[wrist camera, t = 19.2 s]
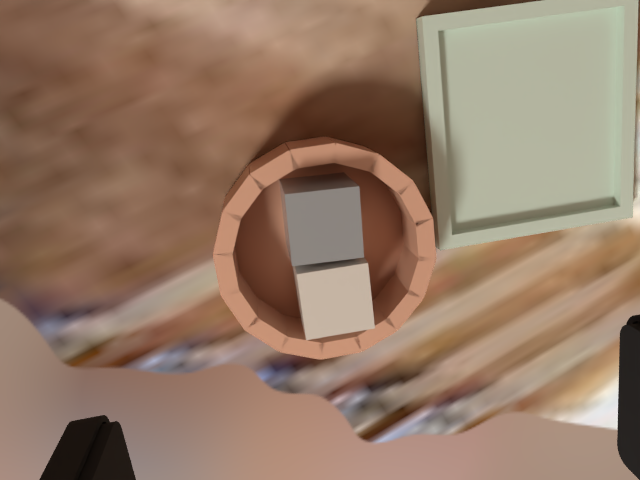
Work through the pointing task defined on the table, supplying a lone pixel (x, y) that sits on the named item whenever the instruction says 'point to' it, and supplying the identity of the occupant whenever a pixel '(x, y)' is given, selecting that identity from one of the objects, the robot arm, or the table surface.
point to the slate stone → (322, 218)
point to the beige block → (334, 297)
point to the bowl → (273, 257)
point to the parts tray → (529, 117)
